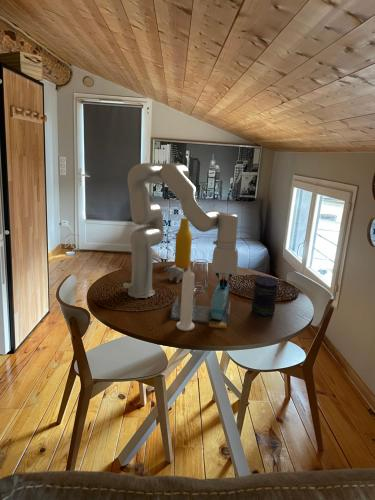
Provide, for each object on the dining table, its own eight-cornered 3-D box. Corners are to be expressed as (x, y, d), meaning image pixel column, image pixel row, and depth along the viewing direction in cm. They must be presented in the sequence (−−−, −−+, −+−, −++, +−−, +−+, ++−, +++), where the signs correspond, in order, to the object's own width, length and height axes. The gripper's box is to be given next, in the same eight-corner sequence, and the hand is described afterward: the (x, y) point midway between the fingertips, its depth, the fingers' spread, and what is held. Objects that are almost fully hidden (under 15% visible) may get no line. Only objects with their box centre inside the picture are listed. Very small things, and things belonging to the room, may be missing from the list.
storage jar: (255, 306, 163) (259, 275, 159) (276, 312, 159) (281, 280, 154) (247, 314, 155) (251, 281, 151) (269, 320, 150) (274, 287, 146)
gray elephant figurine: (182, 284, 185) (184, 270, 183) (159, 280, 187) (161, 266, 185) (185, 279, 194) (187, 265, 192) (164, 275, 195) (165, 261, 193)
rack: (169, 321, 144) (170, 310, 142) (176, 305, 159) (177, 294, 158) (228, 328, 141) (229, 317, 140) (229, 311, 157) (230, 300, 155)
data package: (220, 322, 144) (224, 294, 141) (210, 319, 145) (213, 292, 142) (226, 310, 155) (229, 284, 152) (216, 308, 156) (219, 282, 153)
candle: (176, 322, 144) (179, 262, 137) (193, 322, 144) (197, 263, 138) (176, 330, 137) (180, 268, 130) (195, 331, 138) (199, 269, 131)
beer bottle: (192, 268, 210) (196, 219, 202) (179, 270, 206) (181, 220, 198) (185, 263, 218) (187, 216, 210) (171, 265, 213) (174, 217, 206)
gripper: (206, 245, 139) (203, 289, 144) (245, 248, 137) (241, 293, 142) (208, 241, 146) (205, 283, 151) (245, 244, 145) (241, 286, 149)
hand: (222, 288), depth 147 cm, fingers closed
